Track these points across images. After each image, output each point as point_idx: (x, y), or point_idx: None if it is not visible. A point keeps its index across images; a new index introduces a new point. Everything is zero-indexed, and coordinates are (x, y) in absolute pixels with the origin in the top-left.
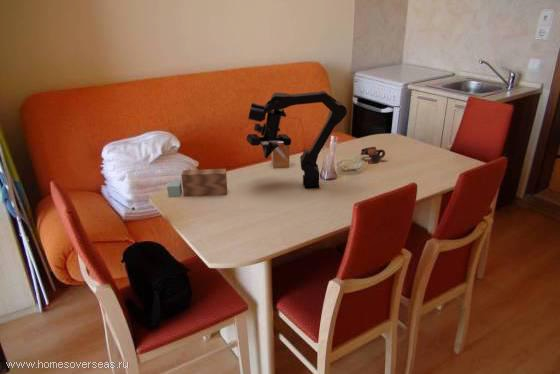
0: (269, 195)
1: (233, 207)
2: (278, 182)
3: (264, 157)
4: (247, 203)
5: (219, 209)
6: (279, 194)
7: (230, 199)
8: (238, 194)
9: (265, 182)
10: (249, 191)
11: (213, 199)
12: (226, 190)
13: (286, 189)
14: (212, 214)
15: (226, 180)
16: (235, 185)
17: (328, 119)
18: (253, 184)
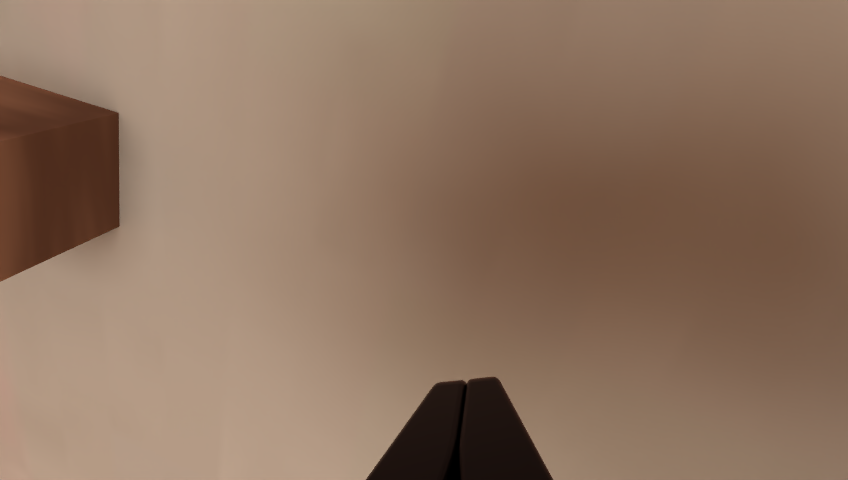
0: None
1: (173, 455)
2: (777, 127)
3: (439, 397)
4: (278, 451)
5: (83, 434)
6: (619, 442)
7: (151, 325)
8: (218, 262)
9: (585, 58)
10: (329, 242)
11: None
12: (80, 243)
13: (766, 374)
14: (49, 470)
15: (4, 186)
16: (197, 21)
17: None
18: (408, 68)
